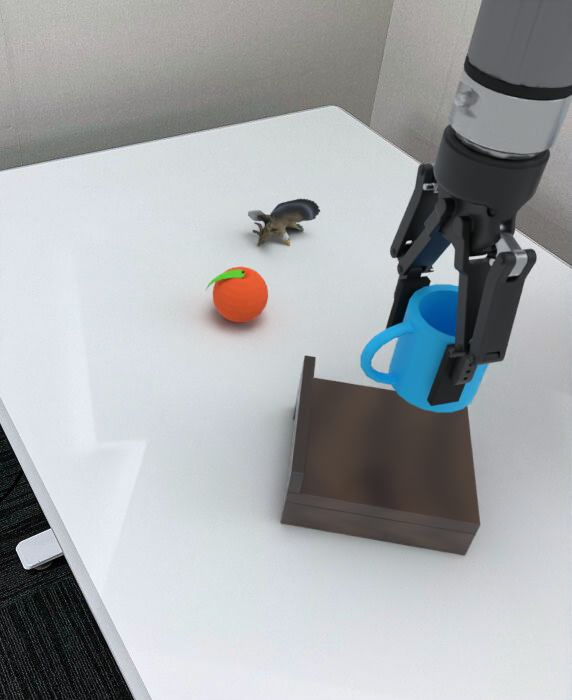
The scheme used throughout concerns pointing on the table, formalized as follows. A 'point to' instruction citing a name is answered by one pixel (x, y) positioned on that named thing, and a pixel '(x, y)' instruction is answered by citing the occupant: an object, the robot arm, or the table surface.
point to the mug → (421, 348)
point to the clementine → (239, 294)
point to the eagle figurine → (284, 218)
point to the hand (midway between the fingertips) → (419, 366)
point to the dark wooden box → (380, 467)
